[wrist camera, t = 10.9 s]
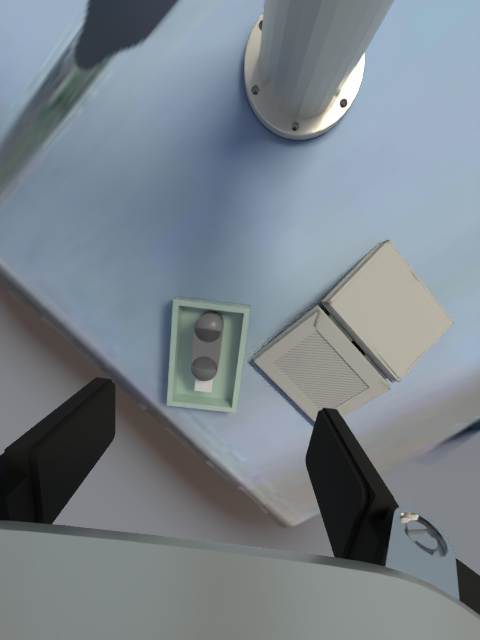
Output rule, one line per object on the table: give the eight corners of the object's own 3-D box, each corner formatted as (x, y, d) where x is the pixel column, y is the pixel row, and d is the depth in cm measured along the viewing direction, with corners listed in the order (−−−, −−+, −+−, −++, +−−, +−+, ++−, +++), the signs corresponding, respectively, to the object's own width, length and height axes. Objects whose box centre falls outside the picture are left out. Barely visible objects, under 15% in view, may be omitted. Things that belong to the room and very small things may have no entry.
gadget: (380, 239, 28) (400, 234, 25) (445, 321, 31) (473, 328, 27) (251, 356, 32) (252, 366, 28) (318, 422, 34) (327, 440, 30)
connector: (200, 309, 29) (195, 314, 26) (225, 312, 29) (223, 317, 26) (194, 381, 31) (188, 394, 28) (217, 383, 31) (214, 397, 28)
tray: (178, 296, 29) (173, 298, 27) (249, 305, 30) (250, 308, 27) (172, 395, 32) (166, 405, 30) (236, 402, 33) (236, 413, 30)
